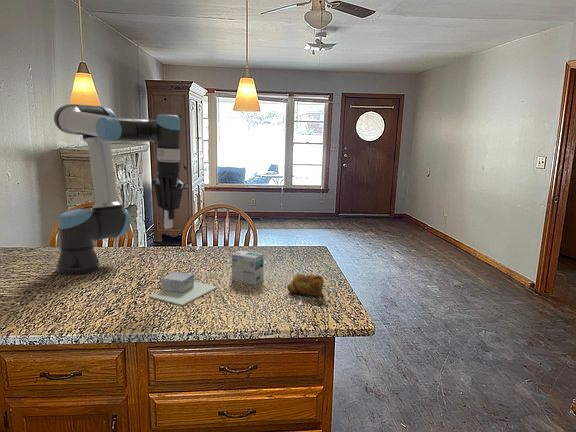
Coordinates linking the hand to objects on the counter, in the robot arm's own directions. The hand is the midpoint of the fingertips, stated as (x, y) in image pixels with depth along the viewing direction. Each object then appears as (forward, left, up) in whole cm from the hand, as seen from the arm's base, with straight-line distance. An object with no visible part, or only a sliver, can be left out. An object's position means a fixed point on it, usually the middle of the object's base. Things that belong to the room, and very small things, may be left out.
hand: (168, 227), depth 146 cm
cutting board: (+9, -2, -22) cm, 23 cm away
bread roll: (+45, +20, -22) cm, 54 cm away
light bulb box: (+21, +20, -22) cm, 36 cm away
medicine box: (0, -2, -19) cm, 19 cm away
